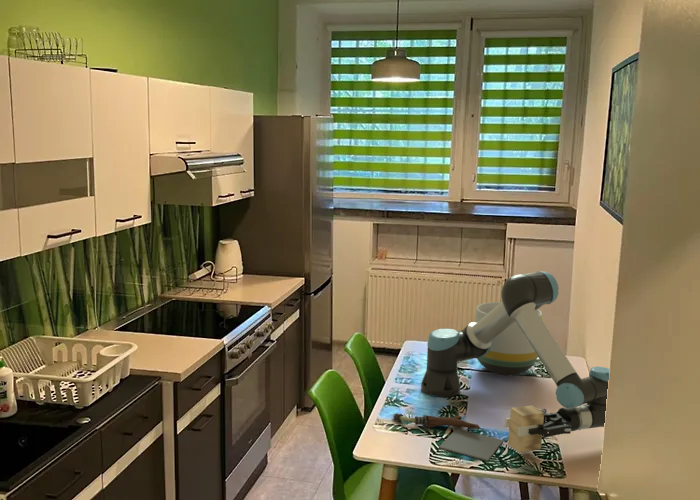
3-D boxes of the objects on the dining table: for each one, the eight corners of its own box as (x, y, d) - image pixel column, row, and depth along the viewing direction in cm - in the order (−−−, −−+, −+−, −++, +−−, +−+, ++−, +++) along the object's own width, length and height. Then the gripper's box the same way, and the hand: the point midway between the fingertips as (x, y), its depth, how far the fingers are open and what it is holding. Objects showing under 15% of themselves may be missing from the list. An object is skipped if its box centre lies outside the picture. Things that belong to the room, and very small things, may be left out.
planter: (545, 369, 290) (550, 308, 285) (525, 388, 267) (530, 322, 263) (485, 357, 304) (489, 298, 299) (462, 373, 281) (466, 311, 277)
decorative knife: (392, 421, 236) (479, 427, 230) (389, 427, 227) (479, 434, 221) (392, 408, 236) (480, 414, 230) (389, 414, 227) (480, 421, 221)
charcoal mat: (438, 448, 213) (438, 446, 213) (456, 429, 227) (456, 428, 227) (487, 461, 206) (488, 459, 206) (503, 441, 219) (503, 440, 219)
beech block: (529, 440, 215) (532, 405, 213) (540, 449, 210) (544, 412, 207) (507, 443, 212) (511, 407, 210) (519, 452, 207) (522, 415, 205)
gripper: (592, 442, 208) (529, 452, 200) (553, 417, 225) (494, 425, 217) (595, 419, 207) (531, 428, 198) (555, 396, 224) (496, 403, 216)
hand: (512, 427), depth 208 cm, fingers closed on beech block, 6 cm apart
